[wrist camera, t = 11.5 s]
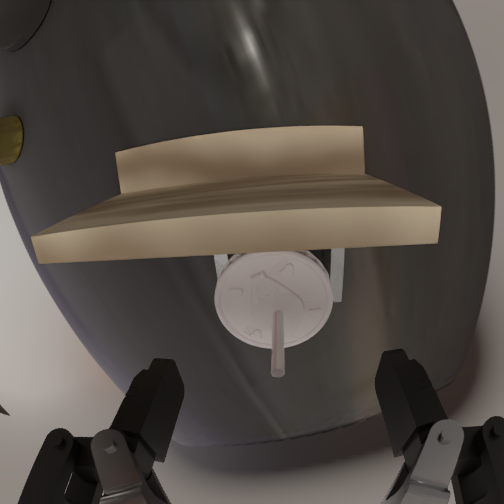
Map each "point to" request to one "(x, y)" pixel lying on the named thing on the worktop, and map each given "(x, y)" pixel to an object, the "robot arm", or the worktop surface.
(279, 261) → the smoothie
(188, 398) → the worktop surface
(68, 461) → the robot arm
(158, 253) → the wall board
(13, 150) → the vase
